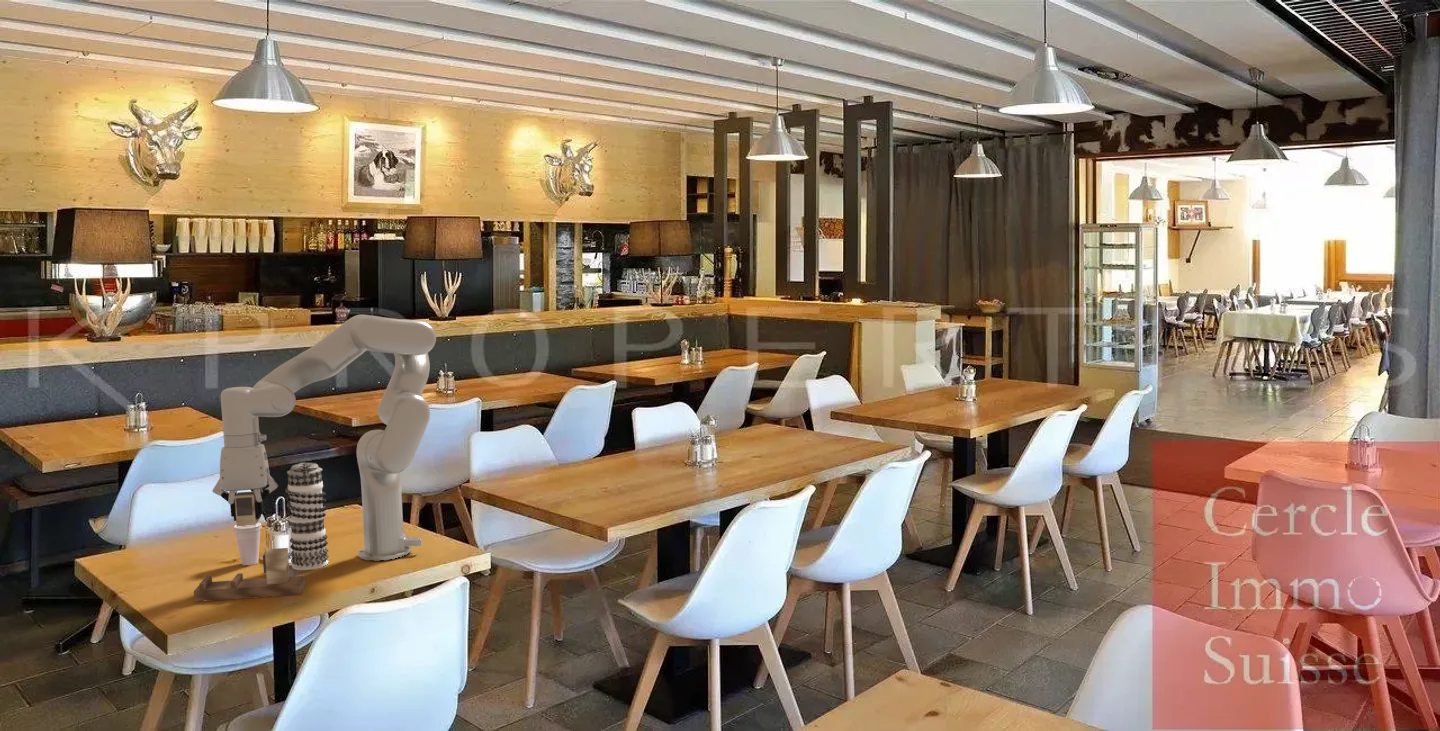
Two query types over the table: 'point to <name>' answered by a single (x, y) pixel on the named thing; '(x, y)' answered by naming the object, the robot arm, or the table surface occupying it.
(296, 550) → the decorative candle
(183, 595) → the table surface
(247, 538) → the smoothie
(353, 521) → the table surface
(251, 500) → the beige boxy piece
